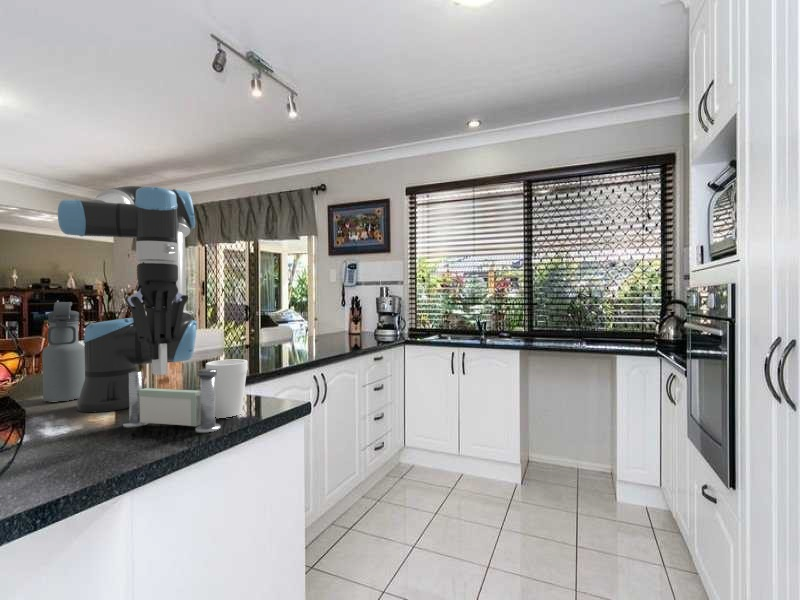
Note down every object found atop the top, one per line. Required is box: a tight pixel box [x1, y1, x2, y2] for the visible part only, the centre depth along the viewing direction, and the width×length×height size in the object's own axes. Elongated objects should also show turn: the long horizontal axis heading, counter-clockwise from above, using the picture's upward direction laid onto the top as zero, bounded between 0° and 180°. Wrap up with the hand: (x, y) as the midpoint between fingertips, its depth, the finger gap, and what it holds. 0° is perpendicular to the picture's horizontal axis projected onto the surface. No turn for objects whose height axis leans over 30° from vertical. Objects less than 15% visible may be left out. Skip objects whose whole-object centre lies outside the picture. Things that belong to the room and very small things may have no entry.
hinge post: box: [122, 370, 149, 429], centre depth 96 cm, size 5×5×12 cm
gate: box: [139, 387, 200, 427], centre depth 94 cm, size 15×2×7 cm, turn 77°
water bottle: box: [41, 301, 85, 402], centre depth 121 cm, size 10×10×28 cm
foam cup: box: [205, 358, 249, 419], centre depth 103 cm, size 10×9×13 cm
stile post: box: [194, 368, 222, 434], centre depth 92 cm, size 5×5×13 cm
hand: (159, 373), depth 89 cm, fingers closed
